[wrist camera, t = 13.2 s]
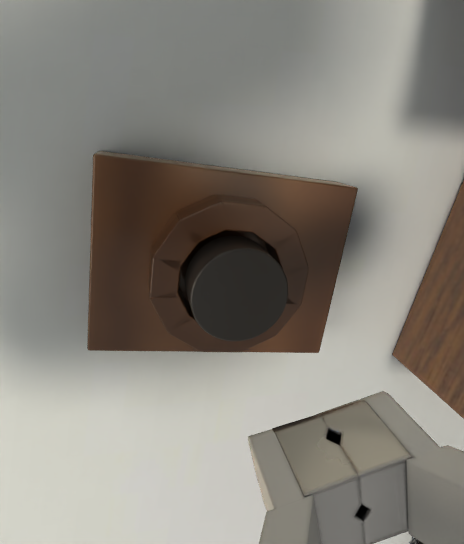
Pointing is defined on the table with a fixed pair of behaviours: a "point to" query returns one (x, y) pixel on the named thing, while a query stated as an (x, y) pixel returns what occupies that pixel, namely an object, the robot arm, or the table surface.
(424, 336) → the tissue box cover
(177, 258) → the wooden knob base
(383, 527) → the robot arm
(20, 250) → the table surface
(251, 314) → the key
